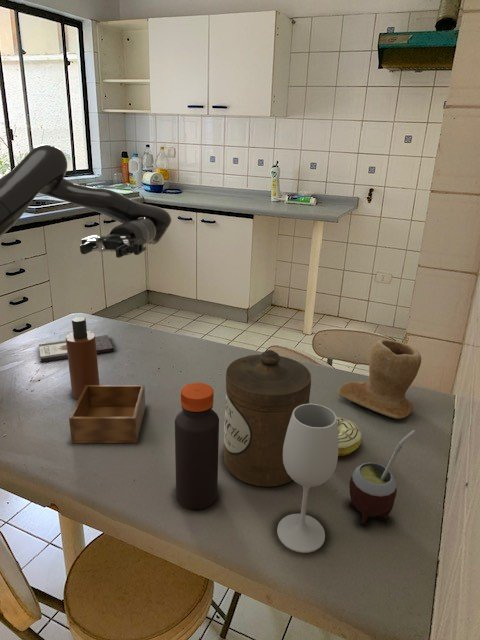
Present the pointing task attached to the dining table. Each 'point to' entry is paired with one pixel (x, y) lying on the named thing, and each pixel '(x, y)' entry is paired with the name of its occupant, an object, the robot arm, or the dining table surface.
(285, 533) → the wineglass
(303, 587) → the dining table surface
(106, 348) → the chocolate bar
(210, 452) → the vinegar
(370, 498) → the mate gourd
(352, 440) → the decorated donut
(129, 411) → the wooden box
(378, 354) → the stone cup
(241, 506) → the dining table surface
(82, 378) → the sauce bottle
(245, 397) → the wooden container
